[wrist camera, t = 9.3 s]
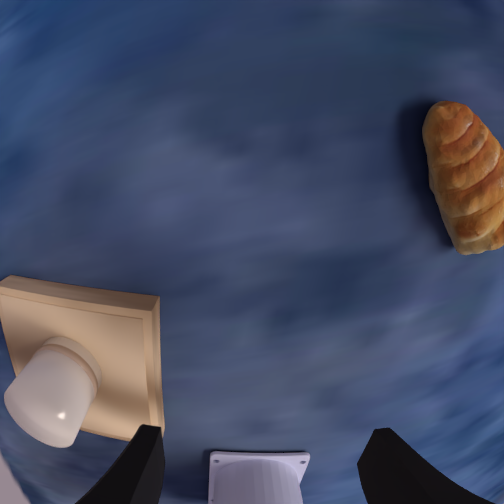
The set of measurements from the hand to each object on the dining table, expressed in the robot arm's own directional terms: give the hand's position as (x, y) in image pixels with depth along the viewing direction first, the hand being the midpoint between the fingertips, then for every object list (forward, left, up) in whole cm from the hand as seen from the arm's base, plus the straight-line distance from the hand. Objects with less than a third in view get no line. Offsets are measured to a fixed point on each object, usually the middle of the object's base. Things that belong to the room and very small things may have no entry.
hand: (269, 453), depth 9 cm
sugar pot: (-4, +11, -8) cm, 14 cm away
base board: (-5, +11, -10) cm, 15 cm away
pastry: (+10, -12, -10) cm, 19 cm away
